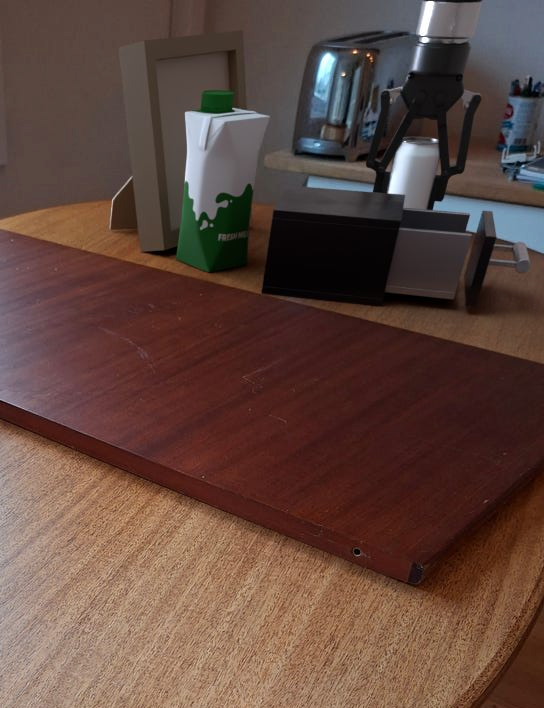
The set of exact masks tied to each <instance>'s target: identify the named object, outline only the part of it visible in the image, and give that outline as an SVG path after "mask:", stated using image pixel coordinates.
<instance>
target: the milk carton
mask: <svg viewBox="0 0 544 708" xmlns="http://www.w3.org/2000/svg"><path fill="white" fill-rule="evenodd" d="M233 99H234V92H231V91H224V90H208V91H203V92H202V101H201V109H199V110H192V111H188V112H185V122H186V136H187V161H186V173H185V185H184V196H183V208H182V219H181V227H180V234H179V241H178V246H177V249H176V256H175V260H176V261H178V262H180V263H184V264H186V265H189V266H191V267H194V268H196V269H199V270H201V271H204V272H205V273H206V272H207V273H212V272H213V273H214V272H217V271H222V270H228V269H232V268H233V269H234V268H237V267H242V266H247V265H248V258H249V257H248V255H249V236H250V235H249V233H250V223H251V222H250V214H251V206H253V199H254V190H255V183H256V175H257V169H258V160H259V154H260V150H261V147H262V145H263V144H262V143H263V141H264V138H265V134H266V131H267V128H268V124H269V122H270V118H271V116H270V115H266V114H262V113H258V112H257V111H254V110H248V109H247V110H242V109H236V108H233ZM249 222H250V223H249Z"/></svg>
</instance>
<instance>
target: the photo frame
mask: <svg viewBox="0 0 544 708" xmlns="http://www.w3.org/2000/svg"><path fill="white" fill-rule="evenodd" d="M118 56H119V57H118V58H119V65H120V75H121V84H122V94H123V102H124V111H125V112H124V113H125V120H126V121H125V123H126V131H127V140H128V149H129V150H128V151H129V157H130V159H129V160H130V166H131V167H130V168H131V176H130V177H129V179H127V180H126V182H125V183H124V185H123V186H122V187H121V188H120V189H119V190H118V192H117V193H116V194H115V195H114V197H113V198H112V199H111V209H110V219H109V228H108V229H109V231H123V230H124V231H125V230H137V232H138V242H139V251H140V253H141V252H156V251H166V250H169V249H173V248H175V247H178V241H179V234H180V227H181V219H182V208H183V196H184V185H185V173H186V161H187V136H186V122H185V112H188V111H192V110H199V109H201V101H202V92H203V91H208V90H224V91H231V92H234V99H233V108H236V109H242V110H247V111H248V107H247V106H248V105H247V85H246V64H245V63H246V62H245V46H244V29H242V30H241V29H240V30H231V31H223V32H222V31H221V32H212V33H204V34H195V35H185V36H175V37H165V38H164V37H163V38H155V39H147V40H146V39H145V40H142V41H137V42H134V43H129V44H126V45H122V46H118ZM252 206H253V205H252ZM252 206H251V214H250V222H249V224H251V223H252V222H253V212H252V211H253V209H252V208H253V207H252Z"/></svg>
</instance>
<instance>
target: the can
mask: <svg viewBox="0 0 544 708" xmlns="http://www.w3.org/2000/svg"><path fill="white" fill-rule="evenodd" d="M439 165H440V151H439V138H438V139H437V138H434V137H426V136H404V137H403V139H402V141H401V143H400V145H399V147H398V148H397V150H396V152H395V154H394V156H393V158H392V161H391V166H390V171H389V172H390V176H389V181H388V185H387V190H386V193H389V194H401V195H405V200H404V206H403V208H414V209H426V210H427V209H428V205H429V201H430V196H431V192H432V188H433V184H434V180H435V177H436V175H437V172H438V168H439Z"/></svg>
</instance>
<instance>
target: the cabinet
mask: <svg viewBox="0 0 544 708" xmlns="http://www.w3.org/2000/svg"><path fill="white" fill-rule="evenodd" d="M404 200H405V195H401V194H389V193H376V192H373V191H363V190H352V189H351V190H349V189H338V188H336V189H335V188H327V187H326V188H323V187H313V186H301V185H300V186H299V185H288V186H287V187H286V189H285V190H284V192H283V193H282V196H281V197H280V199H279V200H278V202H277V204H276V205H275V207H274V208H273V210H272V216H271V217H272V218H271V225H270V231H269V236H268V244H267V251H266V258H265V263H264V264H265V265H264V270H263V271H264V272H263V277H262V278H263V279H262V286H261V292H260V293H261V294H267V295H276V296H284V297H293V298H303V299H310V300H311V299H312V300H321V301H330V302H338V303H339V302H340V303H348V304H357V305H366V306H376V307H382V305H383V302H384V297H385V293H386V292H385V289H386V284H387V280H388V276H389V271H390V267H391V263H392V258H393V254H394V250H395V245H396V241H397V237H398V232H399V228H400V224H401V219H402V212H403V206H404Z"/></svg>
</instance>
